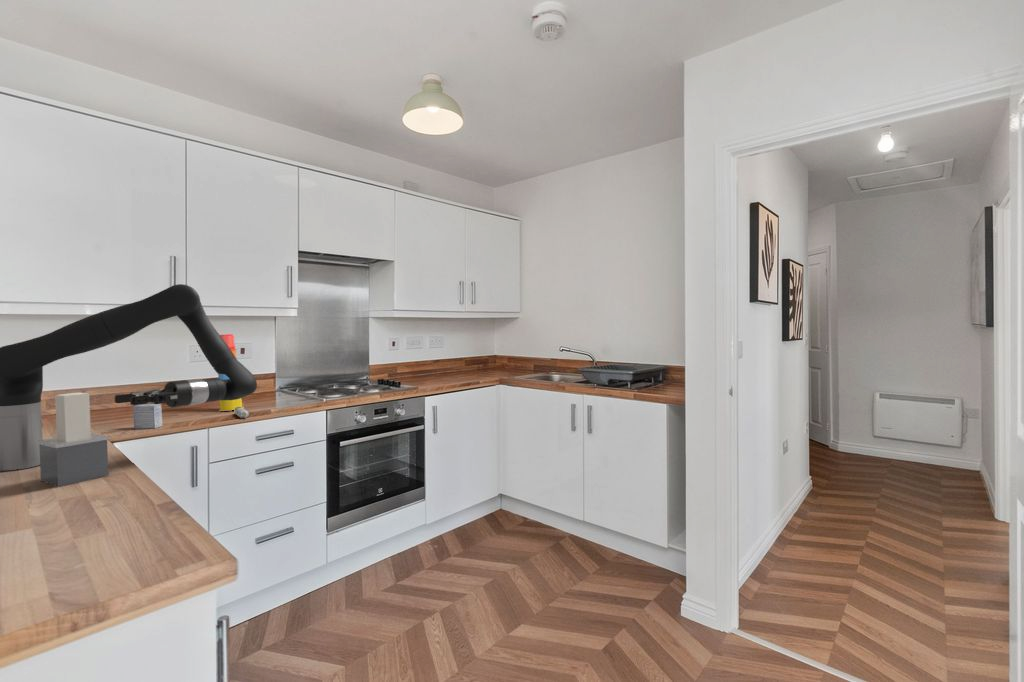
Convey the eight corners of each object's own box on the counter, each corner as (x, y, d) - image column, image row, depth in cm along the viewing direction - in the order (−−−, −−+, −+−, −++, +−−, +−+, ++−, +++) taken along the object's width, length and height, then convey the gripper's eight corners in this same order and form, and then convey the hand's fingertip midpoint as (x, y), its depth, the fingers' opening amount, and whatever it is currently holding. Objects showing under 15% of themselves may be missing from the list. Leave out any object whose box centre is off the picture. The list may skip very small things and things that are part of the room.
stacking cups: (229, 412, 226) (227, 334, 225) (213, 411, 229) (210, 334, 228) (249, 408, 235) (246, 333, 234) (232, 408, 239) (230, 334, 238)
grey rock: (231, 415, 221) (231, 400, 221) (243, 413, 224) (243, 398, 223) (239, 420, 207) (239, 404, 206) (252, 419, 209) (251, 403, 209)
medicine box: (162, 426, 195) (162, 403, 195) (155, 428, 191) (154, 405, 191) (141, 426, 195) (140, 404, 195) (133, 429, 191) (132, 406, 191)
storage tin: (39, 481, 125) (37, 440, 125) (90, 470, 134) (89, 432, 134) (57, 487, 120) (55, 444, 120) (109, 475, 129) (108, 436, 129)
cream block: (56, 439, 126) (55, 394, 126) (81, 435, 130) (80, 392, 130) (66, 441, 123) (64, 395, 123) (90, 437, 128) (89, 393, 127)
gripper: (173, 379, 153) (109, 385, 139) (200, 381, 146) (135, 387, 132) (174, 404, 154) (110, 412, 140) (201, 407, 146) (136, 416, 132)
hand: (123, 400), depth 136 cm, fingers open, 8 cm apart
